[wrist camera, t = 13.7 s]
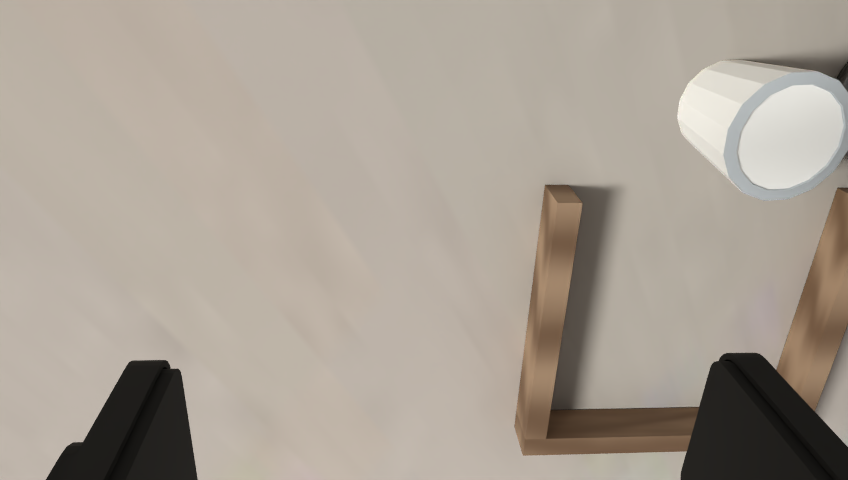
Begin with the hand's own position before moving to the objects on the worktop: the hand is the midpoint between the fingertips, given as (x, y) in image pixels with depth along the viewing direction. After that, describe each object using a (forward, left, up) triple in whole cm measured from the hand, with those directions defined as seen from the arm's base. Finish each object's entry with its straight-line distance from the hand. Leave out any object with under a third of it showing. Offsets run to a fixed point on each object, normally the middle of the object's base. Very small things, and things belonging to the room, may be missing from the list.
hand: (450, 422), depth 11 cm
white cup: (+1, +20, -28) cm, 35 cm away
